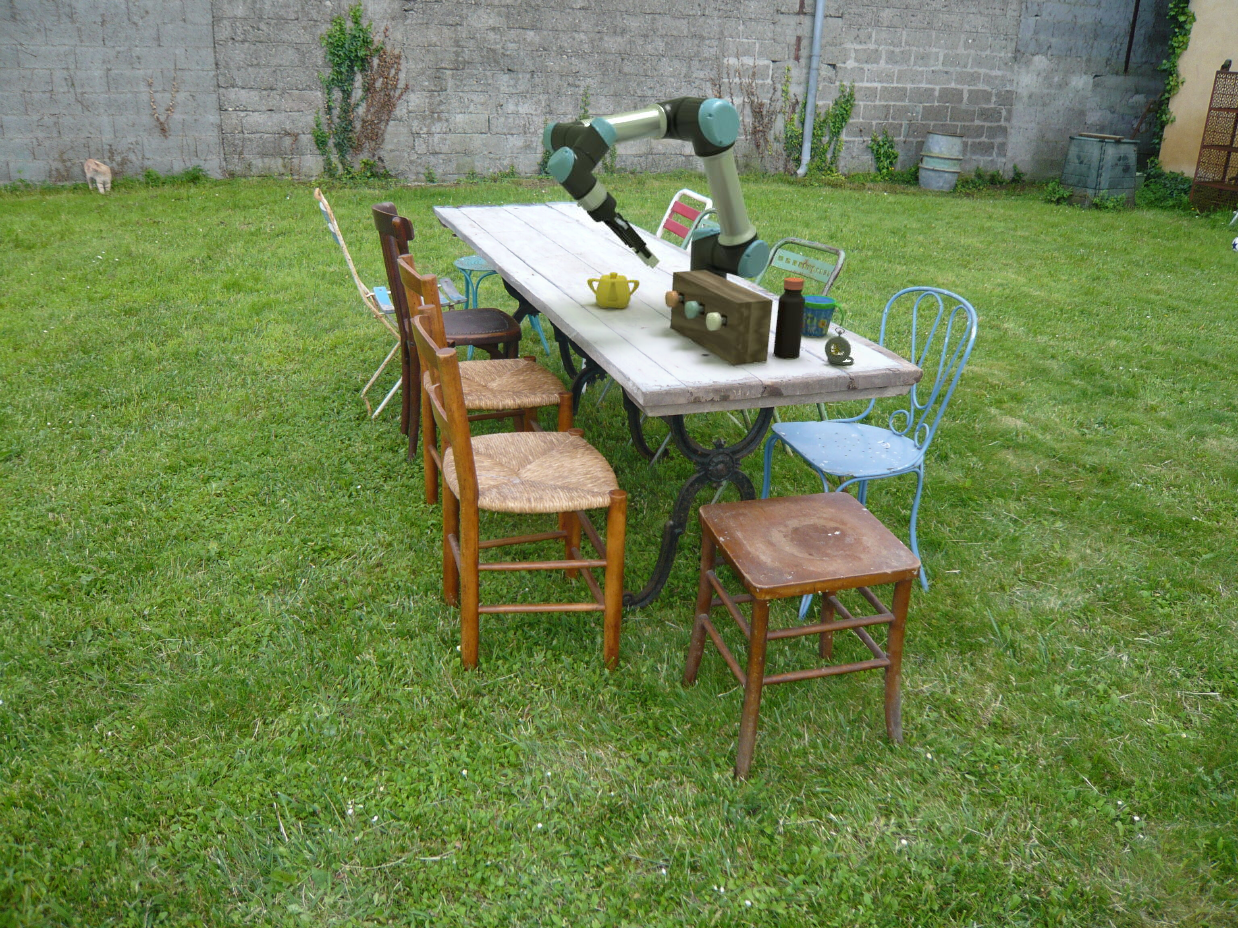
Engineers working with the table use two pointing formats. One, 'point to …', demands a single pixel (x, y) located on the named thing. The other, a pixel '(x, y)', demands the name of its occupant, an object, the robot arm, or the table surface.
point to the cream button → (715, 321)
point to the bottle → (790, 319)
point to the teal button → (693, 309)
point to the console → (740, 305)
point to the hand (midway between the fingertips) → (653, 263)
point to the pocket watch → (838, 349)
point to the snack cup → (819, 314)
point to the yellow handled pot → (613, 290)
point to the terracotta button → (673, 299)
